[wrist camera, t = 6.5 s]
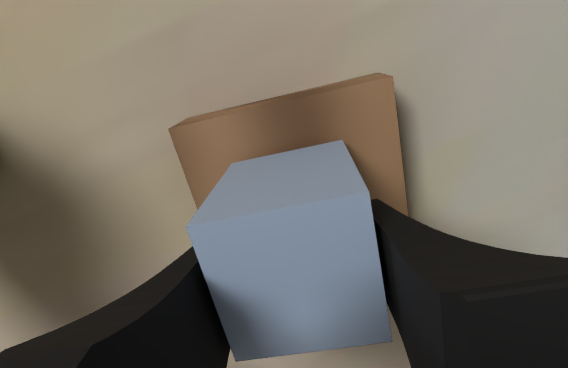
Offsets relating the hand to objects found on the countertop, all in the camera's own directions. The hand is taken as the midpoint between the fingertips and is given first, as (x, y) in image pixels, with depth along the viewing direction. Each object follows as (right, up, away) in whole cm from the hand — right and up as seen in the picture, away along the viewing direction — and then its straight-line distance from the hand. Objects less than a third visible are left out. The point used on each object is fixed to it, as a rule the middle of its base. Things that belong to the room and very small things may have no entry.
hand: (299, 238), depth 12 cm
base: (0, +2, +5) cm, 5 cm away
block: (0, +1, +2) cm, 2 cm away
